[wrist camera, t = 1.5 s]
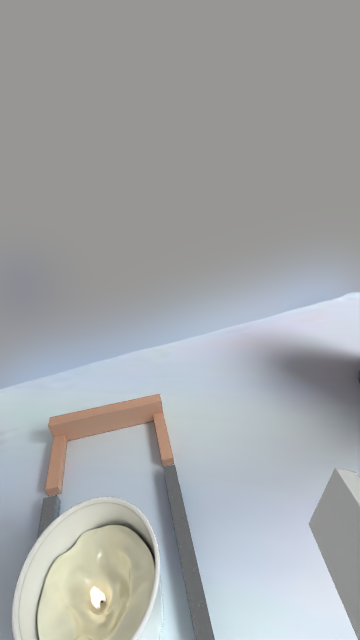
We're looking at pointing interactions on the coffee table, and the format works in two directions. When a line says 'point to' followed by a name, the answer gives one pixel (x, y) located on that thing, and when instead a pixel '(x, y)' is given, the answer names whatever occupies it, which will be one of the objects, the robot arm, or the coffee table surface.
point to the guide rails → (184, 545)
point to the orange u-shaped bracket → (103, 431)
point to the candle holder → (91, 577)
